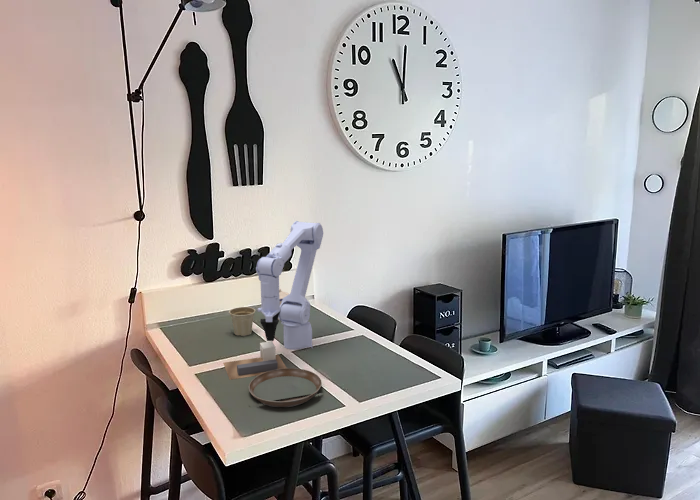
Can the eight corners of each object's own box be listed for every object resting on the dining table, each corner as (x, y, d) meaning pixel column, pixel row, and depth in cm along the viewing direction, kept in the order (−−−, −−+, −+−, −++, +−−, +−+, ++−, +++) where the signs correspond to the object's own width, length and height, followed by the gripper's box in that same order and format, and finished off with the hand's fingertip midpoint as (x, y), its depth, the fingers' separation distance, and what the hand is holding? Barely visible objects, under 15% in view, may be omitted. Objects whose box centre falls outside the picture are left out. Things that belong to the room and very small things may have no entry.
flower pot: (261, 331, 207) (260, 309, 205) (244, 339, 199) (243, 316, 197) (242, 327, 212) (241, 305, 210) (224, 334, 204) (223, 312, 202)
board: (278, 357, 184) (278, 354, 184) (288, 373, 172) (288, 370, 172) (223, 365, 178) (223, 362, 178) (229, 382, 166) (229, 379, 166)
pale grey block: (272, 355, 183) (272, 341, 182) (275, 361, 179) (275, 346, 178) (260, 357, 182) (259, 342, 181) (263, 363, 177) (263, 348, 176)
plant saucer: (259, 418, 147) (259, 406, 146) (241, 385, 165) (241, 374, 165) (332, 403, 155) (332, 392, 154) (307, 373, 173) (307, 363, 173)
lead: (275, 366, 175) (275, 359, 174) (277, 369, 173) (277, 362, 172) (237, 372, 171) (236, 365, 170) (238, 375, 169) (238, 368, 168)
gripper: (259, 288, 181) (260, 328, 184) (254, 302, 167) (256, 345, 170) (281, 288, 182) (282, 327, 185) (278, 302, 168) (279, 344, 171)
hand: (271, 336), depth 177 cm, fingers open, 7 cm apart
